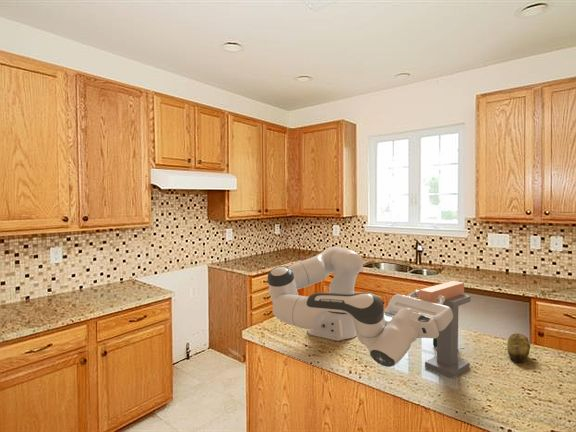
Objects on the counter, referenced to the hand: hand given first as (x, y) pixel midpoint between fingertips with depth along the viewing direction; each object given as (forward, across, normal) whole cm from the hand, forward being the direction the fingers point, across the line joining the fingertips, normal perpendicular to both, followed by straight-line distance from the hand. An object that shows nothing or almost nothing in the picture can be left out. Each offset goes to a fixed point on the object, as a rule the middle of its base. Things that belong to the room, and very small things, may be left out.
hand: (429, 294), depth 111 cm
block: (+6, 0, -6) cm, 9 cm away
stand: (-4, 0, -30) cm, 31 cm away
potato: (+21, +12, -45) cm, 51 cm away
